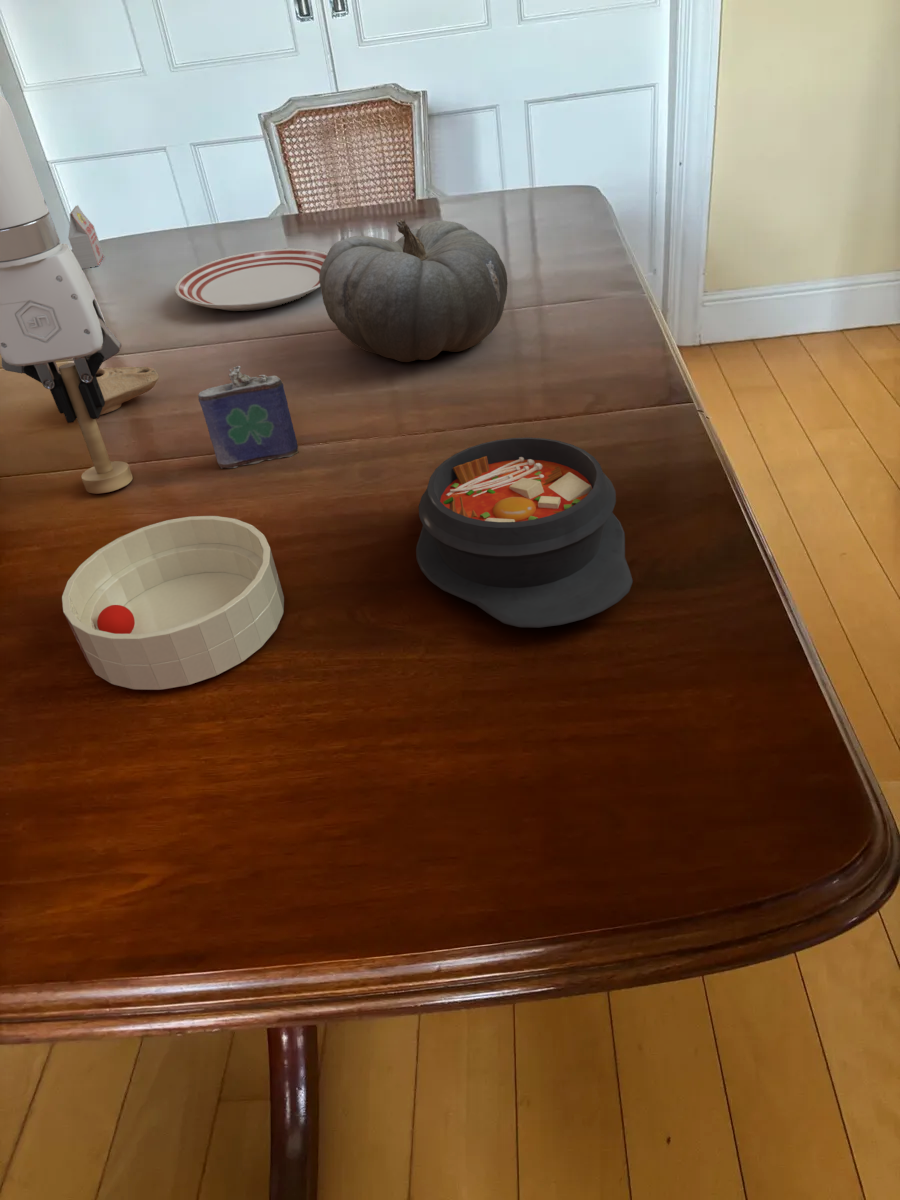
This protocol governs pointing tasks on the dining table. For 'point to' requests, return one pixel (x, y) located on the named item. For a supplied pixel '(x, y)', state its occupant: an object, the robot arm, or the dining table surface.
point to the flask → (248, 420)
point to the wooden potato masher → (94, 442)
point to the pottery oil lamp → (124, 384)
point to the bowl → (176, 601)
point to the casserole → (524, 532)
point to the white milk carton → (84, 240)
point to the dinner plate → (253, 279)
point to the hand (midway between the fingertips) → (85, 414)
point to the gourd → (415, 290)
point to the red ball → (116, 620)
